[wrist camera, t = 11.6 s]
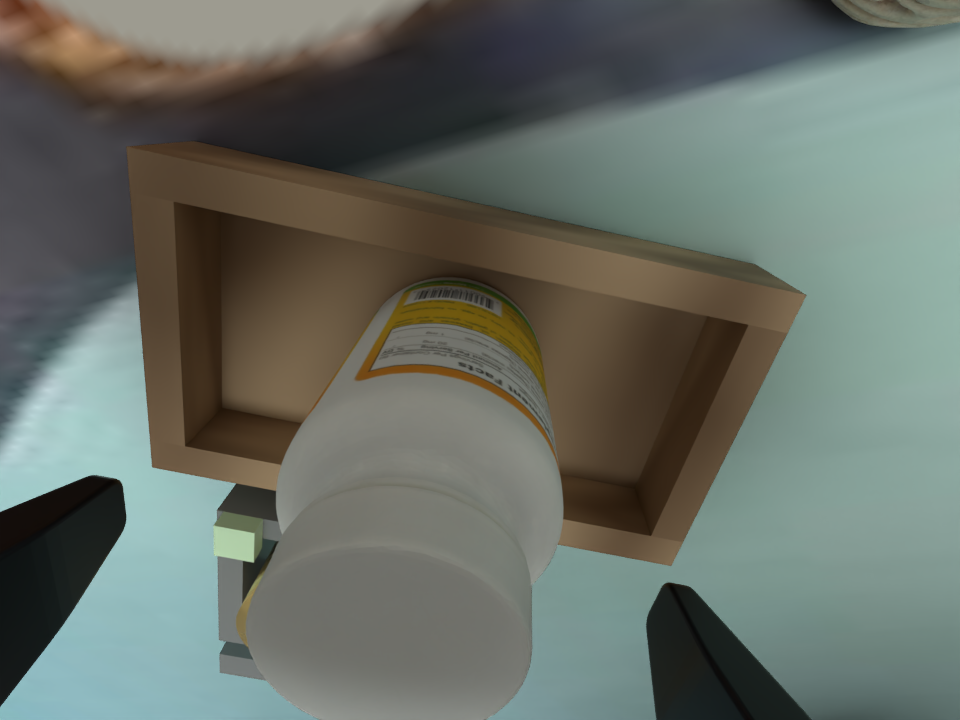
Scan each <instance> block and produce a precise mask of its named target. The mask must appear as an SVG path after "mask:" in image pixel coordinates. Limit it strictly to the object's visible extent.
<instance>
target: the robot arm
mask: <svg viewBox="0 0 960 720" xmlns="http://www.w3.org/2000/svg"><path fill="white" fill-rule="evenodd" d="M125 524H126V510H125V501H124V493H123V486H122V483H121V482H120V481H119V480H117V479H114V478H109V477H104V476H98V475H91V476H88V477H85V478H82V479H80V480H77V481H75V482H73V483H70V484H68V485H65V486H63V487H60V488H58V489H55V490H53V491H51V492H48V493H46V494H43V495H41V496H38V497H36V498H33V499H31V500H28V501H26V502H24V503H21V504H19V505H16V506H14V507H11V508H9V509H6V510H4V511H2V512H0V706H1V705H2V704H3V703H4V701H5V700H6V699H7V697H8V696H9V695H10V693H11V692H12V691H13V690H14V688H15V687H16V686H17V684H18V683H19V682H20V681H21V679H22V678H23V677H24V675H25V674H26V673H27V671H28V670H29V669H30V668H31V666H32V665H33V664H34V662H35V661H36V660H37V659H38V657H39V656H40V655H41V653H42V652H43V651H44V650H45V648H46V647H47V646H48V644H49V643H50V642H51V640H52V639H53V638H54V636H55V635H56V634H57V632H58V631H59V630H60V628H61V627H62V626H63V624H64V623H65V621H66V620H67V618H68V617H69V615H70V614H71V612H72V611H73V609H74V608H75V606H76V605H77V603H78V602H79V600H80V598H81V597H82V595H83V594H84V592H85V591H86V589H87V587H88V586H89V584H90V583H91V581H92V579H93V578H94V576H95V575H96V573H97V572H98V570H99V568H100V567H101V565H102V564H103V562H104V561H105V559H106V557H107V556H108V554H109V553H110V551H111V549H112V548H113V546H114V545H115V543H116V542H117V540H118V538H119V537H120V535H121V533H122V532H123V529H124V527H125ZM646 630H647V640H648V649H649V658H650V667H651V676H652V685H653V695H654V704H655V712H656V720H812V719H811V718H810V717H809V716H808V715H807V714H806V713H805V712H804V710H803V709H802V708H801V707H800V706H799V705H798V704H797V703H796V702H795V701H794V699H793V698H792V697H791V696H790V695H789V694H788V693H787V692H786V691H785V690H784V689H783V687H782V686H781V685H780V684H779V683H778V682H777V681H776V680H775V679H774V678H773V676H772V675H771V674H770V673H769V672H768V671H767V670H766V669H765V668H764V667H763V665H762V664H761V663H760V662H759V661H758V660H757V659H756V658H755V657H754V656H753V654H752V653H751V652H750V651H749V650H748V649H747V648H746V647H745V646H744V645H743V643H742V642H741V641H740V640H739V639H738V638H737V637H736V636H735V635H734V634H733V632H732V631H731V630H730V629H729V628H728V627H727V626H726V625H725V624H724V623H723V621H722V620H721V619H720V618H719V617H718V616H717V615H716V614H715V613H714V612H713V610H712V609H711V608H710V607H709V606H708V605H707V604H706V603H705V602H704V601H703V600H702V598H701V597H700V596H699V595H698V594H697V593H696V592H695V591H694V590H693V589H692V588H691V587H689V586H685V585H680V584H675V583H666V584H664V585H663V586H662V588H661V590H660V591H659V593H658V595H657V597H656V599H655V601H654V603H653V605H652V607H651V609H650V611H649V614H648V617H647V622H646Z"/></svg>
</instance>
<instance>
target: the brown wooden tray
mask: <svg viewBox="0 0 960 720" xmlns="http://www.w3.org/2000/svg"><path fill="white" fill-rule="evenodd" d="M126 149H127V161H128V174H129V186H130V198H131V211H132V223H133V235H134V248H135V260H136V272H137V285H138V297H139V309H140V322H141V334H142V346H143V359H144V371H145V384H146V396H147V408H148V421H149V433H150V445H151V458H152V467H153V468H158V469H164V470H169V471H174V472H179V473H185V474H190V475H195V476H200V477H206V478H211V479H216V480H221V481H227V482H232V483H237V484H243V485H248V486H253V487H258V488H264V489H269V490H274V491H276V488H277V480H278V475H279V471H280V468H281V464H282V461H283V459H284V456H285V454H286V452H287V450H288V448H289V446H290V444H291V442H292V440H293V438H294V436H295V435H296V433H297V431H298V429H299V428H300V426H301V424H302V423H303V421H304V420H305V418H306V417H307V415H308V414H309V412H310V411H311V409H312V408H313V406H314V405H315V403H316V402H317V400H318V399H319V397H320V396H321V394H322V393H323V391H324V390H325V388H326V387H327V385H328V384H329V382H330V381H331V379H332V378H333V376H334V375H335V373H336V372H337V371H338V369H339V368H340V366H341V364H342V363H343V361H344V360H345V358H346V357H347V356H348V354H349V353H350V351H351V349H352V348H353V346H354V345H355V343H356V342H357V340H358V339H359V337H360V336H361V334H362V333H363V331H364V330H365V328H366V327H367V325H368V323H369V322H370V320H371V319H372V317H373V316H374V315H375V314H376V312H377V311H378V310H379V308H380V307H381V306H382V305H383V304H384V303H385V302H386V301H387V300H388V299H389V298H391V297H392V296H393V295H394V294H396V293H397V292H399V291H400V290H402V289H404V288H406V287H408V286H410V285H412V284H414V283H417V282H420V281H424V280H427V279H433V278H440V277H456V278H464V279H469V280H473V281H477V282H480V283H482V284H485V285H487V286H490V287H492V288H494V289H496V290H497V291H499V292H501V293H502V294H504V295H505V296H506V297H508V298H509V299H510V300H512V301H513V302H514V303H515V304H516V305H517V306H518V307H519V308H520V309H521V310H522V312H523V313H524V314H525V316H526V317H527V318H528V320H529V322H530V324H531V326H532V328H533V330H534V332H535V334H536V337H537V340H538V343H539V347H540V351H541V355H542V361H543V368H544V375H545V381H546V388H547V395H548V402H549V408H550V415H551V421H552V427H553V432H554V439H555V445H556V451H557V458H558V463H559V468H560V477H561V484H562V493H563V524H562V530H561V535H560V539H559V542H558V545H564V546H569V547H574V548H579V549H585V550H590V551H595V552H600V553H606V554H611V555H616V556H622V557H627V558H632V559H637V560H643V561H648V562H653V563H658V564H664V565H669V566H671V565H672V563H673V561H674V559H675V557H676V555H677V553H678V551H679V549H680V547H681V545H682V543H683V541H684V539H685V537H686V535H687V533H688V531H689V529H690V527H691V525H692V523H693V521H694V519H695V517H696V515H697V513H698V511H699V509H700V507H701V505H702V503H703V501H704V499H705V497H706V495H707V493H708V491H709V489H710V487H711V485H712V483H713V481H714V479H715V477H716V475H717V473H718V471H719V469H720V467H721V465H722V463H723V461H724V459H725V457H726V455H727V453H728V451H729V449H730V447H731V445H732V443H733V441H734V439H735V437H736V435H737V433H738V431H739V429H740V427H741V425H742V423H743V421H744V419H745V417H746V415H747V413H748V411H749V409H750V407H751V405H752V403H753V401H754V399H755V397H756V395H757V393H758V391H759V389H760V387H761V385H762V383H763V381H764V379H765V377H766V375H767V373H768V371H769V369H770V367H771V365H772V363H773V361H774V359H775V357H776V355H777V353H778V351H779V349H780V347H781V345H782V343H783V341H784V339H785V337H786V335H787V333H788V331H789V329H790V327H791V325H792V323H793V321H794V319H795V317H796V315H797V313H798V311H799V309H800V307H801V305H802V303H803V301H804V299H805V297H806V295H805V294H804V293H802V292H800V291H799V290H797V289H795V288H794V287H792V286H790V285H789V284H787V283H785V282H784V281H782V280H780V279H779V278H777V277H775V276H774V275H772V274H770V273H769V272H767V271H765V270H764V269H762V268H760V267H759V266H757V265H755V264H750V263H746V262H741V261H737V260H732V259H728V258H723V257H719V256H714V255H710V254H705V253H700V252H696V251H691V250H687V249H682V248H678V247H673V246H669V245H664V244H660V243H655V242H650V241H646V240H641V239H637V238H632V237H628V236H623V235H619V234H614V233H610V232H605V231H601V230H596V229H591V228H587V227H582V226H578V225H573V224H569V223H564V222H560V221H555V220H551V219H546V218H541V217H537V216H532V215H528V214H523V213H519V212H514V211H510V210H505V209H501V208H496V207H492V206H487V205H482V204H478V203H473V202H469V201H464V200H460V199H455V198H451V197H446V196H442V195H437V194H432V193H428V192H423V191H419V190H414V189H410V188H405V187H401V186H396V185H392V184H387V183H383V182H378V181H373V180H369V179H364V178H360V177H355V176H351V175H346V174H342V173H337V172H333V171H328V170H323V169H319V168H314V167H310V166H305V165H301V164H296V163H292V162H287V161H283V160H278V159H273V158H269V157H264V156H260V155H255V154H251V153H246V152H242V151H237V150H233V149H228V148H224V147H219V146H214V145H210V144H205V143H201V142H196V141H188V142H176V143H164V144H152V145H140V146H127V147H126Z"/></svg>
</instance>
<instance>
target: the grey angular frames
mask: <svg viewBox="0 0 960 720" xmlns="http://www.w3.org/2000/svg"><path fill="white" fill-rule="evenodd" d="M281 536H282V533H281V530H280V526H279V522H278V517H277V512H276V491H274V490H269V489H264V488H258V487H253V486H248V485H243V484H237V483H236V485H235V486H234V488H233V489H232V490H231V492H230V493H229V494H228V496H227V497H226V499H225V500H224V501H223V503H222V504H221V505H220V507H219V508H218V510H217V521H216V523H215V524H214V555H215V556H218V610H219V640H221V641H226V643H225V645H224V647H223V649H222V650H221V652H220V673H225V674H231V675H237V676H243V677H248V678H254V679H260V680H266V679H265V678H264V677H263V676H262V674H261V673H260V671H259V670H258V668H257V666H256V664H255V662H254V660H253V658H252V656H251V654H250V651H249V648H248V647H247V646H246V645H245V644H244V643H243V641H242V640H241V638H240V636H239V634H238V632H237V628H236V617H237V613H238V611H239V609H240V607H241V605H242V604H243V602H244V600H245V598H246V596H247V594H248V592H249V591H250V589H251V587H252V585H253V583H254V581H255V579H256V578H257V576H258V574H259V572H260V570H261V568H262V566H263V565H264V563H265V561H266V559H267V557H268V555H269V553H270V552H271V550H272V548H273V546H274V544H275V542H276V541H279V540H280V538H281ZM266 681H267V680H266Z"/></svg>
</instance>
